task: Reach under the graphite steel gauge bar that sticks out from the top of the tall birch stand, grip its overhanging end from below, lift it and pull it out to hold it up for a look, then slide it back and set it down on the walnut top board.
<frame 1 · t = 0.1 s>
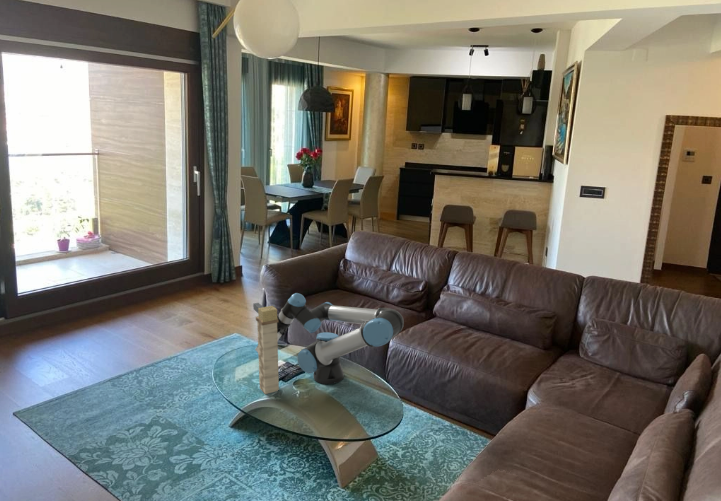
hand: (265, 346, 275), 15 cm above the table, tool tilted 35°, fingers open, 13 cm apart
pedestal: (269, 389, 263), on the table
gauge bar: (266, 318, 254), point 36 cm above the table, touching pedestal
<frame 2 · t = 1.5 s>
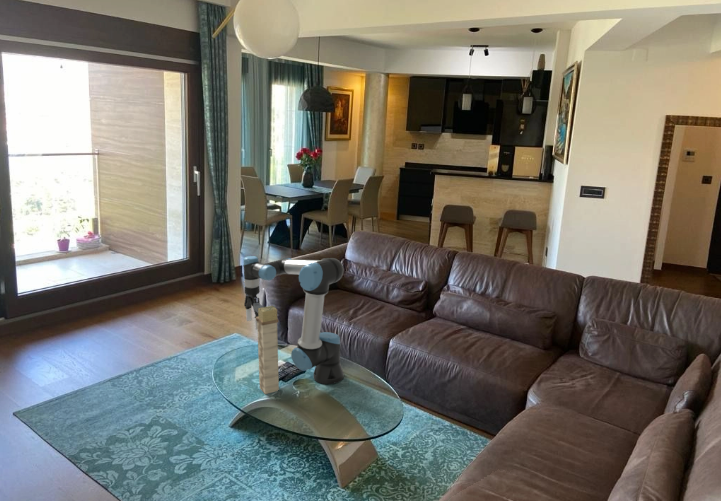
hand: (253, 324, 287), 21 cm above the table, tool pointing down, fingers open, 13 cm apart
nothing on the table moved.
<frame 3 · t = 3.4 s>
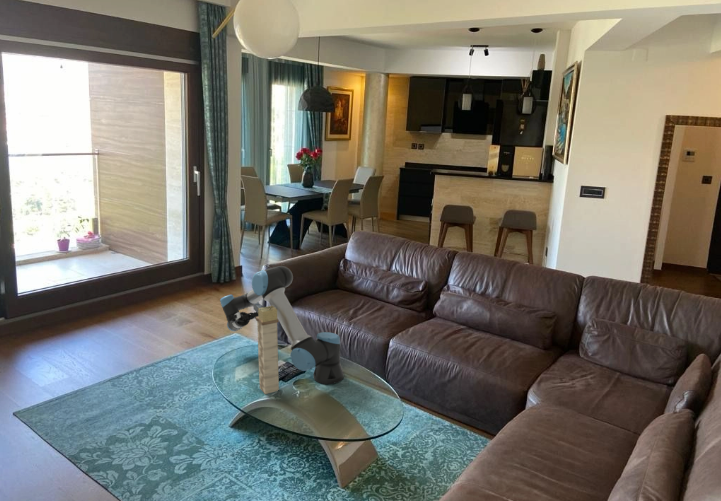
hand: (252, 312, 271), 33 cm above the table, tool pointing upward, fingers open, 13 cm apart
nothing on the table moved.
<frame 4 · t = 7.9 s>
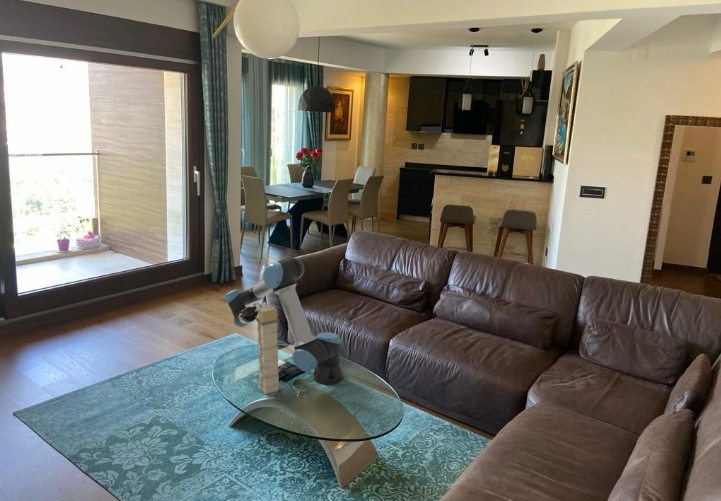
hand: (262, 305, 257), 41 cm above the table, tool pointing upward, fingers closed on gauge bar, 2 cm apart
gauge bar: (266, 318, 254), point 36 cm above the table, touching gripper, pedestal
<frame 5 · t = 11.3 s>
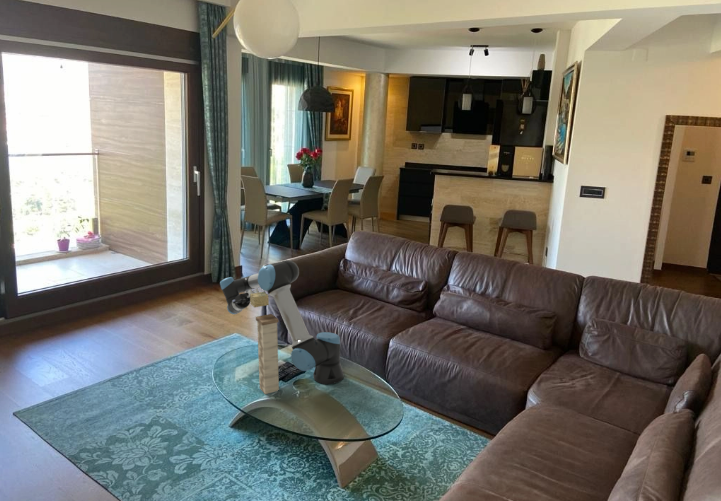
hand: (254, 291, 264), 45 cm above the table, tool pointing upward, fingers closed on gauge bar, 2 cm apart
gauge bar: (258, 303, 261), point 40 cm above the table, touching arm, gripper
when the fingers open (42 cm above the table, at t = 15.1 s): gauge bar stays where it is, resting on pedestal.
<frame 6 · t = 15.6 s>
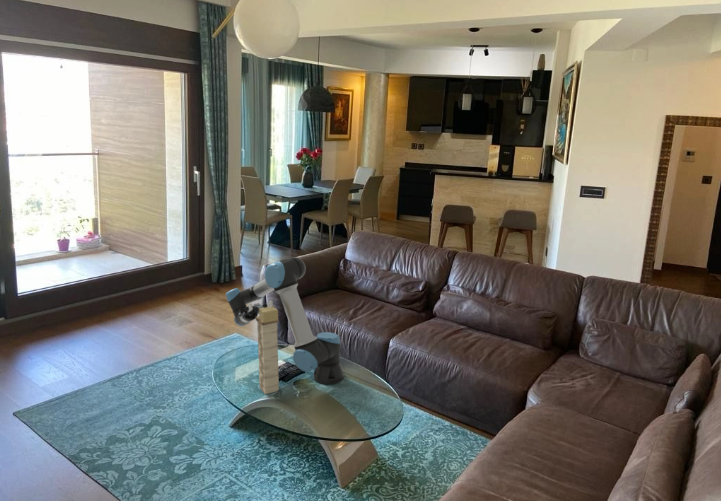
hand: (262, 304, 257), 41 cm above the table, tool pointing upward, fingers open, 10 cm apart
gauge bar: (267, 318, 253), point 36 cm above the table, touching pedestal
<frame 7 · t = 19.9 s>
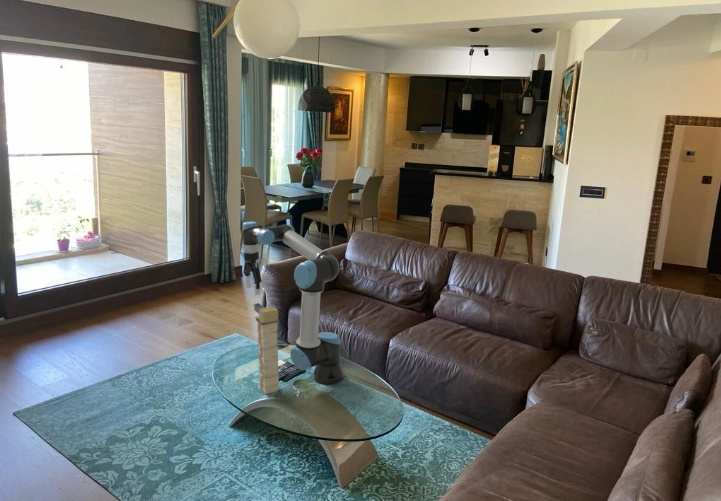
hand: (252, 291, 286), 38 cm above the table, tool pointing down, fingers open, 13 cm apart
nothing on the table moved.
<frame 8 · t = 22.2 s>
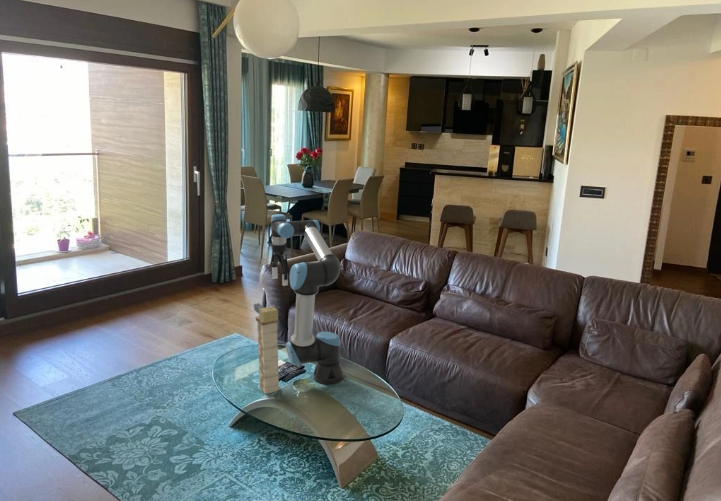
hand: (280, 282, 294), 41 cm above the table, tool pointing down, fingers open, 13 cm apart
nothing on the table moved.
at the end: gauge bar inside the target area (0.6 cm from its centre), point 36.5 cm above the table; the gripper is holding nothing; gauge bar tilted 0° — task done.
